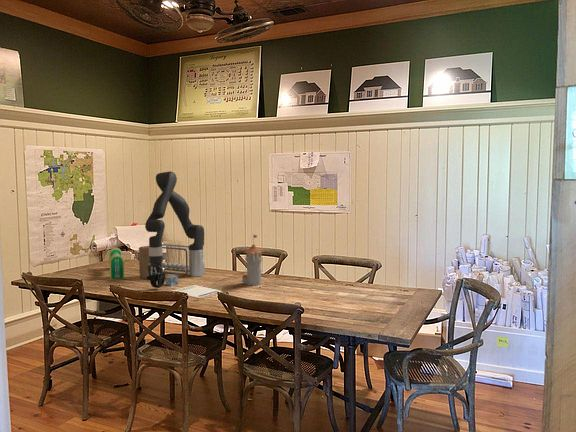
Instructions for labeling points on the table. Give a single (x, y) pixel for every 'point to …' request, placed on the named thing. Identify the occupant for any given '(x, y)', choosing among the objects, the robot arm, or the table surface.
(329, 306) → the table surface
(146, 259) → the block
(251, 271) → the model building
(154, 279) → the controller
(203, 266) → the robot arm
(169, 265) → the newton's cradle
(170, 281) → the cube
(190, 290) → the letter
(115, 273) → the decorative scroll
